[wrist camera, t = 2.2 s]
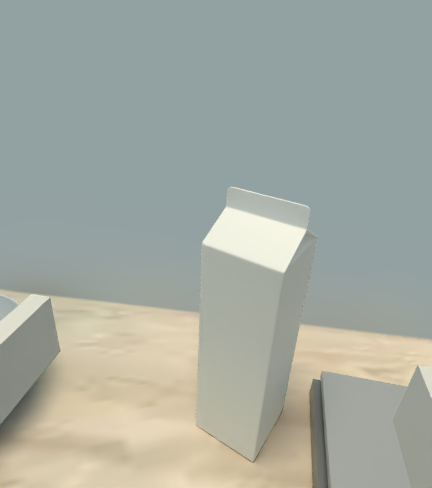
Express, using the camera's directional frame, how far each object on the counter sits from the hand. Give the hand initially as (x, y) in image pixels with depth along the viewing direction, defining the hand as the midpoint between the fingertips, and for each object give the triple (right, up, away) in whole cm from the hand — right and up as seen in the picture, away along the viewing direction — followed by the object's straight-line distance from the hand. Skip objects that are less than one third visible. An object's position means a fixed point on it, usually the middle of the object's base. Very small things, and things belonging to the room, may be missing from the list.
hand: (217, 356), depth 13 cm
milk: (+2, -12, +20) cm, 24 cm away
